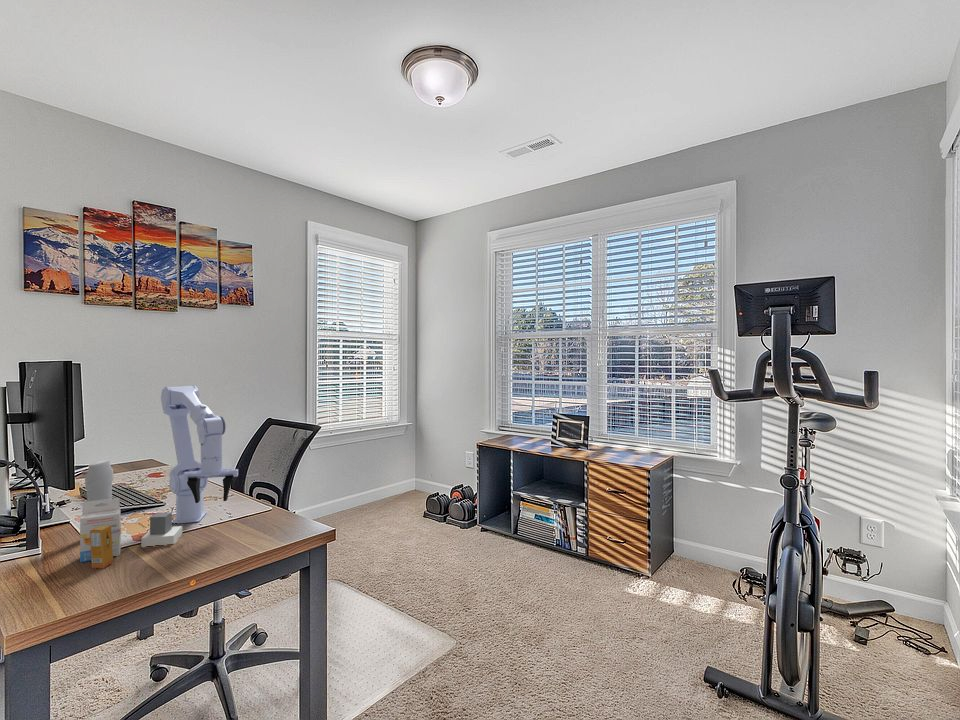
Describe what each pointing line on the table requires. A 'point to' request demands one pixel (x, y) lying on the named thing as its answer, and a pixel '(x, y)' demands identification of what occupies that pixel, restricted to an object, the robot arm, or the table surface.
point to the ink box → (100, 524)
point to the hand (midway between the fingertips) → (211, 501)
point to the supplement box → (101, 546)
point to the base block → (162, 537)
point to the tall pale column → (99, 482)
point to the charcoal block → (160, 523)
